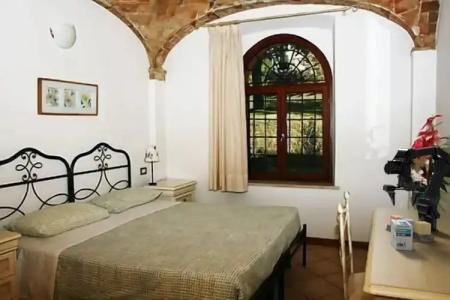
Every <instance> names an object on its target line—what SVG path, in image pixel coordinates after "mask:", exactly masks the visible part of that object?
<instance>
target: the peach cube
mask: <svg viewBox="0 0 450 300" xmlns="http://www.w3.org/2000/svg"><path fill="white" fill-rule="evenodd" d="M391 219H397V220H400V219H406V216H403V215H400V214H399V215H397V214H396V215H393V214H392V215H390V222H389V223H390V224H389V225H391Z"/></svg>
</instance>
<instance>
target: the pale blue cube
mask: <svg viewBox="0 0 450 300" xmlns="http://www.w3.org/2000/svg"><path fill="white" fill-rule="evenodd" d="M400 220H407V221H408V222H409V223H410V224H411V225H413V231H414V228H415V222H416V220H414V219H412V218H405V219H400Z"/></svg>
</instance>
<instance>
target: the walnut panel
mask: <svg viewBox="0 0 450 300" xmlns="http://www.w3.org/2000/svg"><path fill="white" fill-rule="evenodd" d="M385 230H386V231H387V232H389V233H391V225H390V224H386V228H385ZM421 242H423V243H424V242H427V243H429V242H435V235H434V234H432V233H431V235H420V234H418V233H416V232H414V231H413V238H412V243H421Z"/></svg>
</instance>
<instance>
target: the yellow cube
mask: <svg viewBox="0 0 450 300" xmlns="http://www.w3.org/2000/svg"><path fill="white" fill-rule="evenodd" d="M414 232H416V233H418V234H420V235H431V234H432V233H431V232H432V231H431V224H430V223H427V222H425V221H422V222H420V221H415V228H414Z"/></svg>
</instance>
